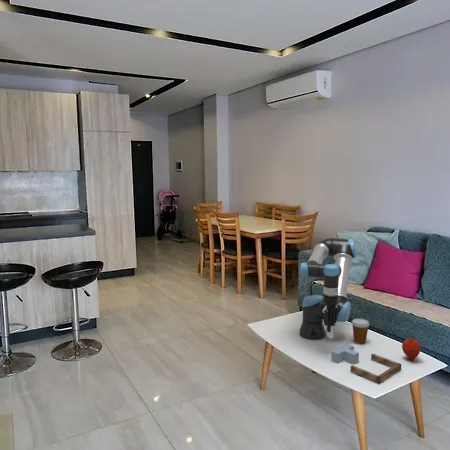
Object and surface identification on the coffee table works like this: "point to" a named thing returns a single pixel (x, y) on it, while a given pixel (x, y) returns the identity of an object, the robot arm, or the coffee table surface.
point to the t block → (345, 354)
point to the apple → (411, 348)
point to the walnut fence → (382, 377)
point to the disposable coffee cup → (360, 330)
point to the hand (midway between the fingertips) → (330, 337)
